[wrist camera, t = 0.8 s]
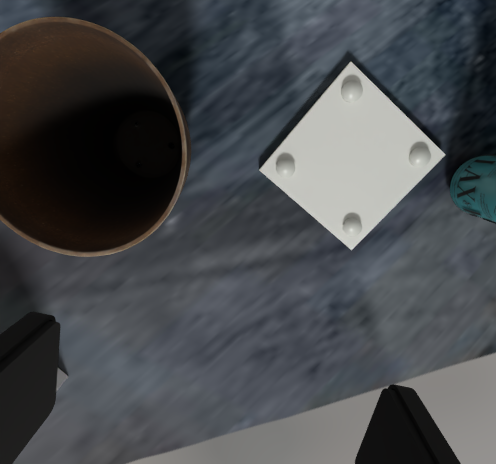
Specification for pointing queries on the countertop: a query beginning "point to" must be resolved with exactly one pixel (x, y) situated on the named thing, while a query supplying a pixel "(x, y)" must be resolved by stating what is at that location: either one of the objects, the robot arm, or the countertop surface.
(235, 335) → the countertop surface
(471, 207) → the beverage bottle
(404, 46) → the countertop surface
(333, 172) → the base plate
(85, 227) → the plant pot
